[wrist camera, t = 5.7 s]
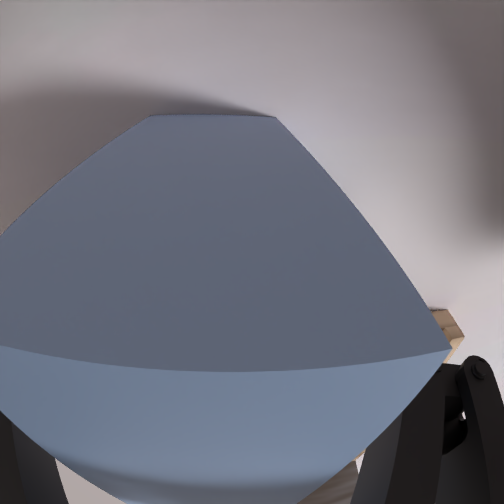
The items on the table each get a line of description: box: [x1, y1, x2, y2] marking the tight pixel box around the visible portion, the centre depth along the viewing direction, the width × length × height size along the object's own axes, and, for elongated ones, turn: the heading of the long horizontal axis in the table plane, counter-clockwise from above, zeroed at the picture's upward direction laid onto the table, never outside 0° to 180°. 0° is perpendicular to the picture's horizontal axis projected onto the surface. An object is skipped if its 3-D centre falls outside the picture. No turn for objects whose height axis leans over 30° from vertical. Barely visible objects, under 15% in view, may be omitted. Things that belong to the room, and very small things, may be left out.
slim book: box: [0, 114, 453, 504], centre depth 9 cm, size 11×4×10 cm, turn 176°
